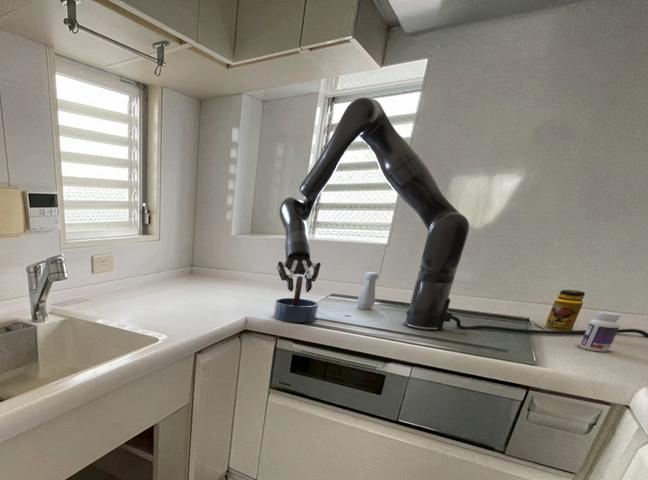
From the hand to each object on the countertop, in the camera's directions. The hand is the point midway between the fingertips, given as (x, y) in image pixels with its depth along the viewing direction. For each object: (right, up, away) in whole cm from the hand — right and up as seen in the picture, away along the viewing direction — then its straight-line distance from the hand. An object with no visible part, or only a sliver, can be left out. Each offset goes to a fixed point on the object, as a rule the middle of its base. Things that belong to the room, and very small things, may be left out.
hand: (299, 290), depth 129 cm
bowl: (0, -8, +6) cm, 10 cm away
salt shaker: (+32, -2, +21) cm, 39 cm away
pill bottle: (+70, -21, -22) cm, 76 cm away
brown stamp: (0, -8, +5) cm, 10 cm away
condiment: (+79, -13, -4) cm, 80 cm away
